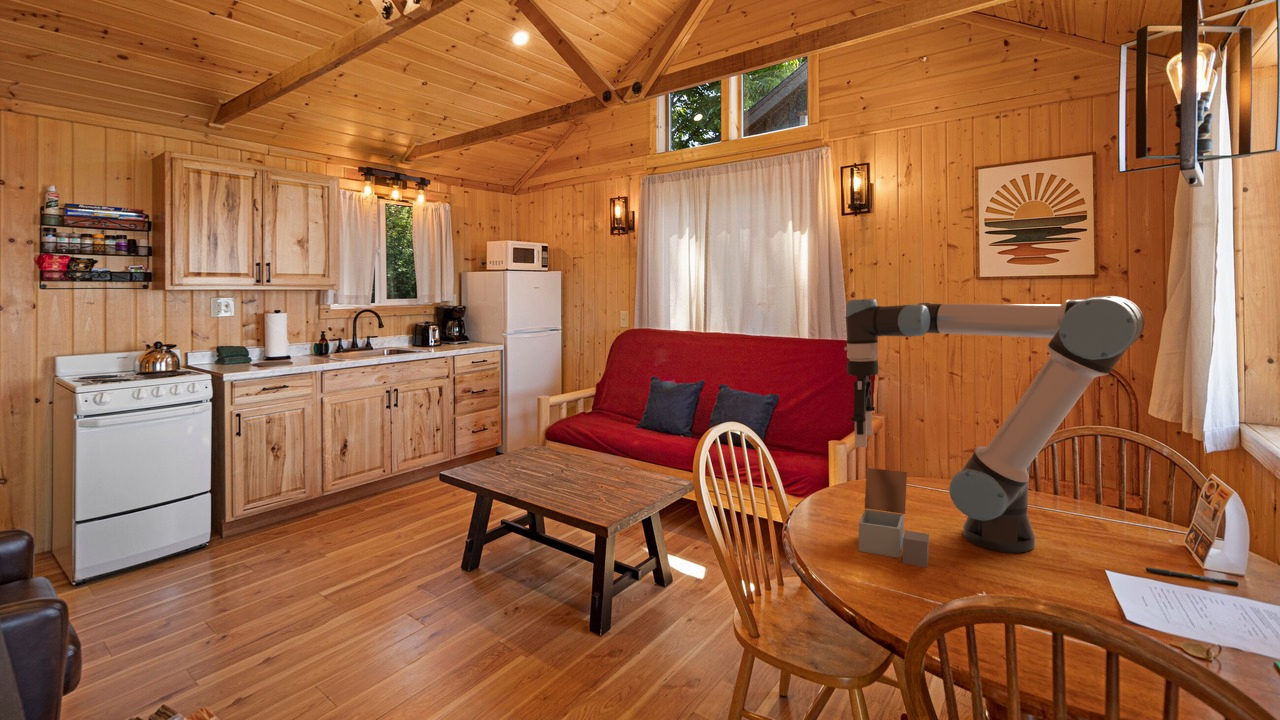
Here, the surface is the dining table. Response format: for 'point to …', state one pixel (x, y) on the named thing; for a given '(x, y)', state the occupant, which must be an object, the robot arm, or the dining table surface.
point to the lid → (885, 490)
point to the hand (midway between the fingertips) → (864, 440)
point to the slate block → (915, 548)
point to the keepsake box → (881, 533)
